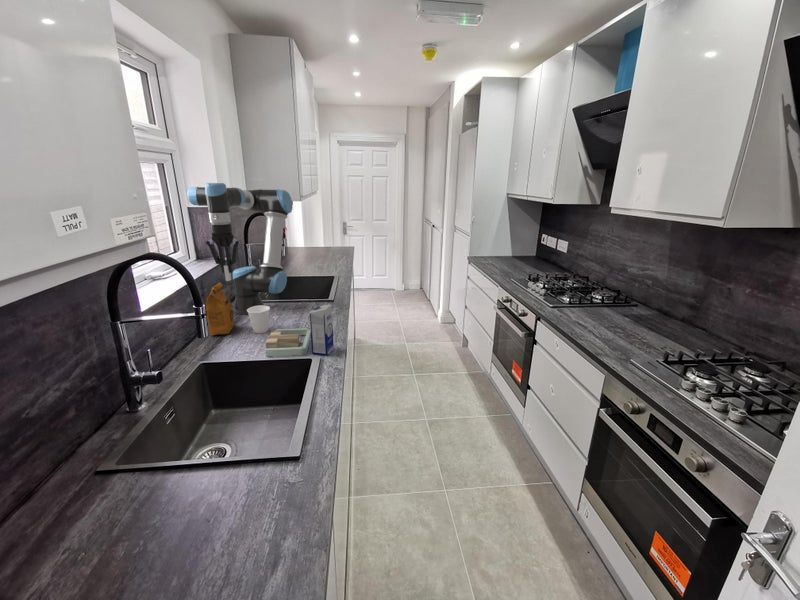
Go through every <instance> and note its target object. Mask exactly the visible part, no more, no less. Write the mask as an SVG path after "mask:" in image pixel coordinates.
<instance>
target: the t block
mask: <svg viewBox="0 0 800 600" xmlns="http://www.w3.org/2000/svg"><path fill="white" fill-rule="evenodd" d="M299 345H300V336H299V334H289V335H282V333H281V331H275V330H273V331H271V332H270V334H269V336H268V338H267V340H266V341H265V347H266V348H265V350H266V349H267V348H278V347H279V348H291V347H297V346H298V347H300V346H299Z"/></svg>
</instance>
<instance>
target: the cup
mask: <svg viewBox="0 0 800 600" xmlns="http://www.w3.org/2000/svg"><path fill="white" fill-rule="evenodd" d="M270 309H271V307H270V306H268V305H264V306H262V305H261V306H254V307H250V308H248V309H247V312H248V314H247V315H248V317H249V321H250V323H251V327H252V330H253V332H254V333H255V334H258V333H259V334H260V333H261V334H265V333H266V332H268V331H269V323H270V322H269V321H270V319H269V318H270V311H271V310H270ZM261 334H260V335H261Z"/></svg>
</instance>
